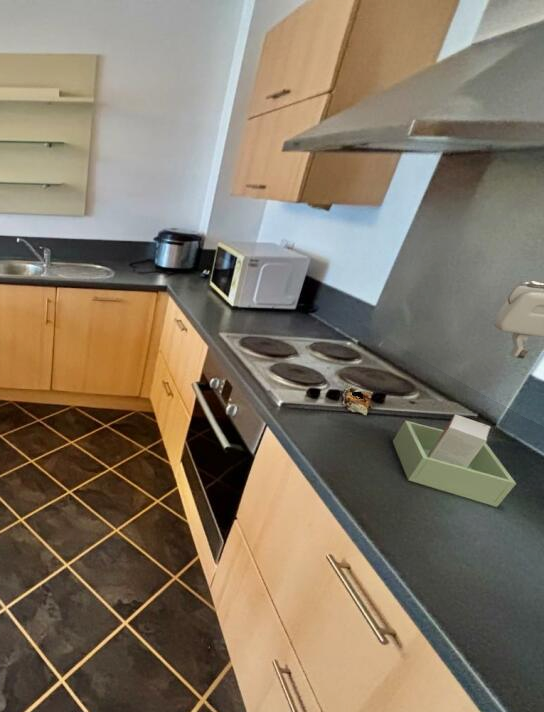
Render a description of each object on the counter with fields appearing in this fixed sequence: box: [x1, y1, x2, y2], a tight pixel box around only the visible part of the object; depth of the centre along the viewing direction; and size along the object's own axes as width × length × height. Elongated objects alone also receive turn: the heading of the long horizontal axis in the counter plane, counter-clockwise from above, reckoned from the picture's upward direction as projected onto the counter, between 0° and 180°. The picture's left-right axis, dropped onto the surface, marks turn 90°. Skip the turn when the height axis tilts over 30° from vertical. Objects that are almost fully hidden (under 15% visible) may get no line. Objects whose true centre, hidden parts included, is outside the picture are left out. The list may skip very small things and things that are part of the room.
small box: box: [428, 414, 492, 468], centre depth 84 cm, size 8×6×10 cm
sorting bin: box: [392, 420, 517, 508], centre depth 85 cm, size 14×16×6 cm
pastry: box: [339, 385, 373, 416], centre depth 109 cm, size 7×12×4 cm, turn 154°
